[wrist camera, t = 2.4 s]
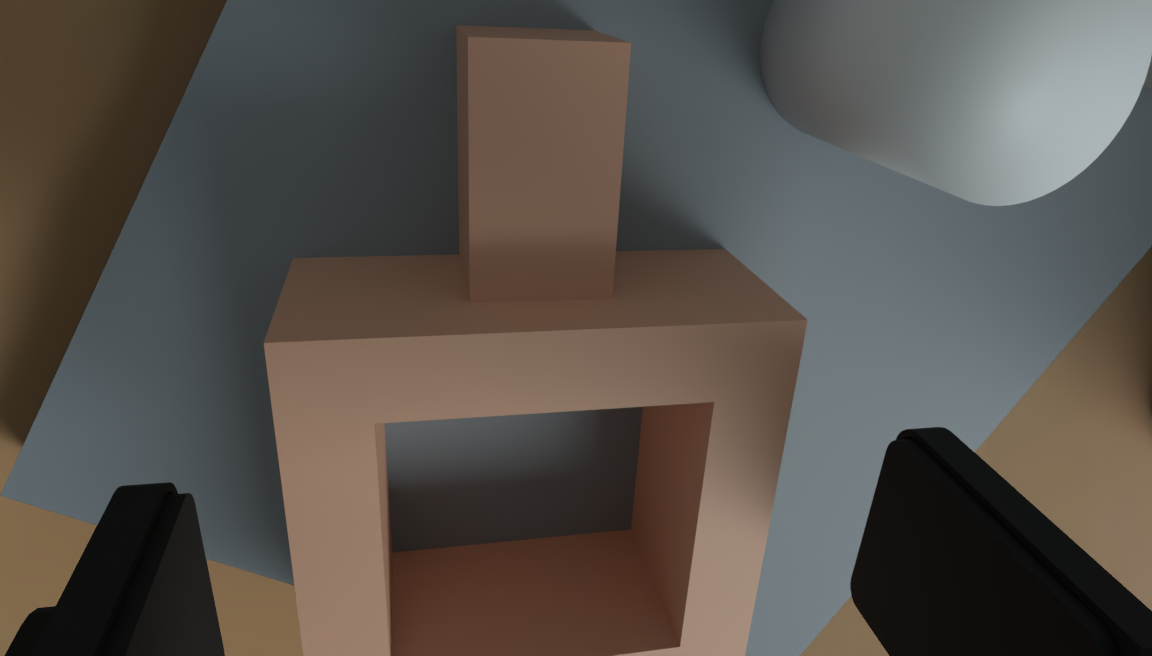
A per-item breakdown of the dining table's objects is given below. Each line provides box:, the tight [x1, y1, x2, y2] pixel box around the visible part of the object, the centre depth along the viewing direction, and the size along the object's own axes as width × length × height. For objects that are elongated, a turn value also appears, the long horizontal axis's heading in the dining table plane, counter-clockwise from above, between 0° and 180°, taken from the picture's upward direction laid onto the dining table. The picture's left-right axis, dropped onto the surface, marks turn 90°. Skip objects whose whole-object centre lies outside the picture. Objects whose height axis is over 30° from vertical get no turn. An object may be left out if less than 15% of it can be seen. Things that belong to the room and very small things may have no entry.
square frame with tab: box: [264, 25, 808, 656], centre depth 12 cm, size 10×7×3 cm
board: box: [0, 0, 1152, 656], centre depth 12 cm, size 18×16×5 cm
